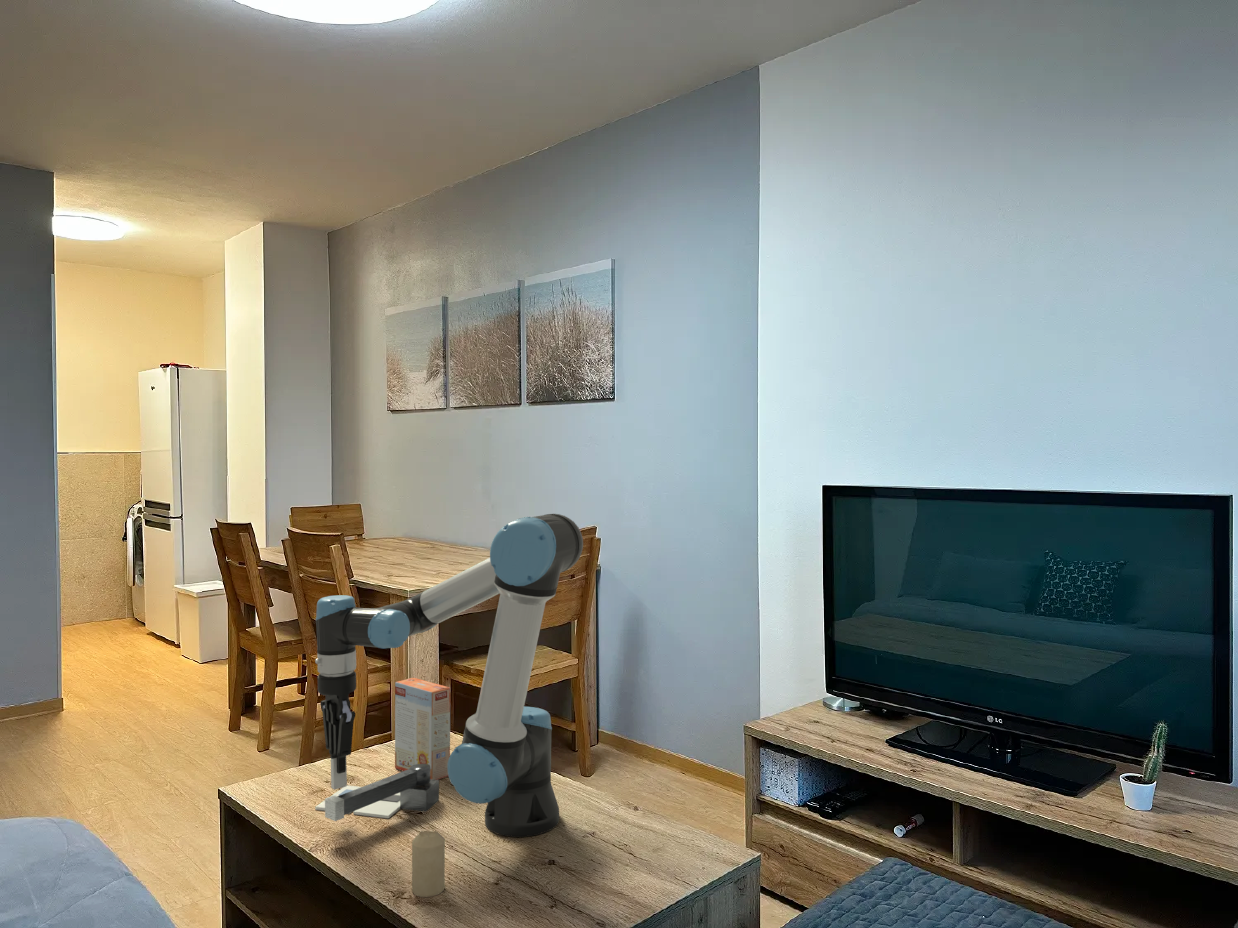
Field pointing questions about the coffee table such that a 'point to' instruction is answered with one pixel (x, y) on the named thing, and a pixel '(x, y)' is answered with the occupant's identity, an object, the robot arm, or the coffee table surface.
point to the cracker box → (422, 726)
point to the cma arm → (376, 791)
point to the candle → (428, 864)
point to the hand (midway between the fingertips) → (339, 786)
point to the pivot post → (420, 796)
